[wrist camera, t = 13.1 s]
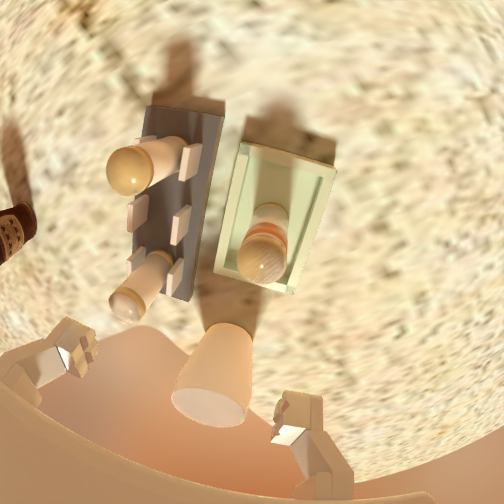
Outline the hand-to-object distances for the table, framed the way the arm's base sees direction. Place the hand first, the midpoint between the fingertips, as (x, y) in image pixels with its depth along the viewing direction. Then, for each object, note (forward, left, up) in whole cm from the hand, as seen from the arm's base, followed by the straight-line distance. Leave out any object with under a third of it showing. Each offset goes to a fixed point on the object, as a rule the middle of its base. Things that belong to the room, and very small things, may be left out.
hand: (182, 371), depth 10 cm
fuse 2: (+9, -9, -20) cm, 24 cm away
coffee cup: (+11, -36, -22) cm, 43 cm away
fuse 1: (-4, -9, -20) cm, 22 cm away
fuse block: (+3, -9, -21) cm, 23 cm away
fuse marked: (+1, +2, -21) cm, 21 cm away
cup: (+20, +1, -22) cm, 29 cm away
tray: (+1, +2, -21) cm, 22 cm away
